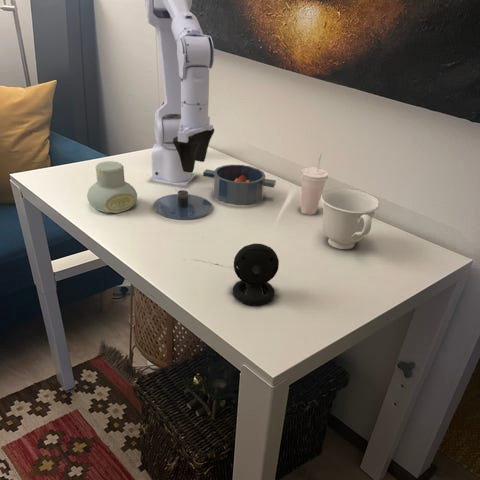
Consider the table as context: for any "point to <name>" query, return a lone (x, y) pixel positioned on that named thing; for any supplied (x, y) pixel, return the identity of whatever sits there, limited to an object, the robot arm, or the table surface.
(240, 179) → the hot dog
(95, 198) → the air freshener
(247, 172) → the pot
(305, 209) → the smoothie
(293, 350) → the table surface
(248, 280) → the webcam
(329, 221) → the teacup
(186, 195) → the pot lid
